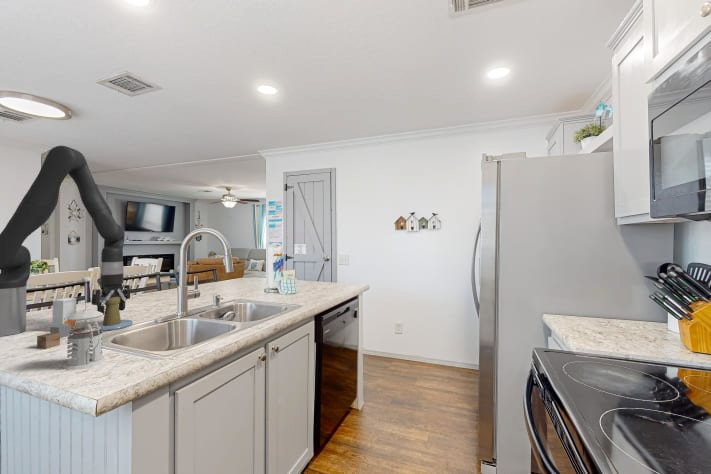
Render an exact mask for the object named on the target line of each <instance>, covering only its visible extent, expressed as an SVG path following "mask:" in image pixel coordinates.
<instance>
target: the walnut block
mask: <svg viewBox="0 0 711 474" xmlns="http://www.w3.org/2000/svg"><path fill="white" fill-rule="evenodd" d="M60 345H61V338H60V333H50V332H47V333H44V334H40V335H37V336H36V348H37V349H44V350H47V349H50V348H55V347H58V346H60Z"/></svg>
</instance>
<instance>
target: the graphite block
mask: <svg viewBox="0 0 711 474" xmlns="http://www.w3.org/2000/svg"><path fill="white" fill-rule="evenodd" d="M71 330H72V329H71V325H68V324H61V325H56V326H52V325H51V326H50V332H49V333H60V339H62V338H65V337H66V338H68V337H69V336H70V335H72V334H70V333H69V332H70V331H71Z"/></svg>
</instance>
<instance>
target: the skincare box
mask: <svg viewBox="0 0 711 474" xmlns="http://www.w3.org/2000/svg"><path fill="white" fill-rule="evenodd" d="M77 299H78V298H77V297H63V298H58V299H54V300H52V319H51V320H52V322H51V323H52V325H51V327H52V326H56V325H61V324H68V325H71V330H73V329H76V327H77V321H70V320H68V319H67V317H69V316H70V315H72V314H74V313H76V312H77Z"/></svg>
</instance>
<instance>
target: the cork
mask: <svg viewBox="0 0 711 474" xmlns="http://www.w3.org/2000/svg"><path fill="white" fill-rule="evenodd" d="M119 303H120V298H119V297H113V298H109V299H108V301H106V302H105V304H104V306H105V307H104V315H103V321H102V322H103V326H112V325H117V324H120V323H121V320H122V319H121V314H120V310H119Z"/></svg>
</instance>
